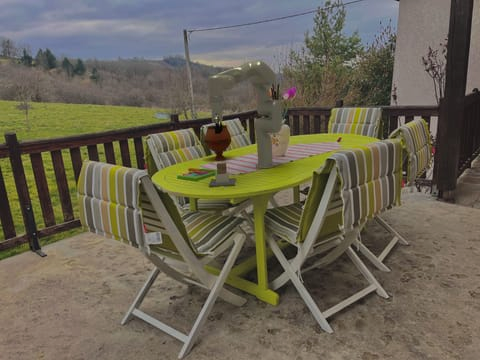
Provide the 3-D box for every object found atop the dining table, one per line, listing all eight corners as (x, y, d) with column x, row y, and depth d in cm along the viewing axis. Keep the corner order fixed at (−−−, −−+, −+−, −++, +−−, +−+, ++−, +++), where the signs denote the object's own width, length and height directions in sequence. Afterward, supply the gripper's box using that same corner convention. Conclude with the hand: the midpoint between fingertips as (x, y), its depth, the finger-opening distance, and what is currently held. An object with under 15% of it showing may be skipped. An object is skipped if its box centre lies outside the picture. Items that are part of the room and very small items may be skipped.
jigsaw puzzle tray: (221, 173, 232) (193, 170, 247) (221, 170, 231) (193, 167, 246) (196, 182, 215) (167, 178, 230) (195, 178, 214) (167, 174, 229)
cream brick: (216, 180, 209) (216, 172, 208) (229, 180, 209) (228, 171, 207) (216, 182, 204) (215, 174, 203) (228, 182, 204) (228, 173, 203)
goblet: (202, 160, 278) (199, 126, 271) (224, 156, 288) (221, 124, 282) (214, 163, 262) (211, 128, 256) (237, 159, 272) (235, 125, 266)
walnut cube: (217, 172, 208) (217, 163, 206) (226, 171, 208) (226, 162, 206) (217, 174, 203) (216, 165, 202) (226, 173, 203) (225, 164, 201)
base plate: (211, 180, 214) (211, 179, 213) (235, 179, 213) (235, 177, 213) (208, 187, 200) (208, 185, 200) (234, 185, 199) (234, 184, 199)
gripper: (211, 100, 204) (213, 131, 208) (207, 101, 187) (210, 135, 191) (224, 99, 204) (227, 130, 208) (222, 100, 187) (224, 134, 191)
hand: (219, 132), depth 200 cm, fingers open, 9 cm apart
